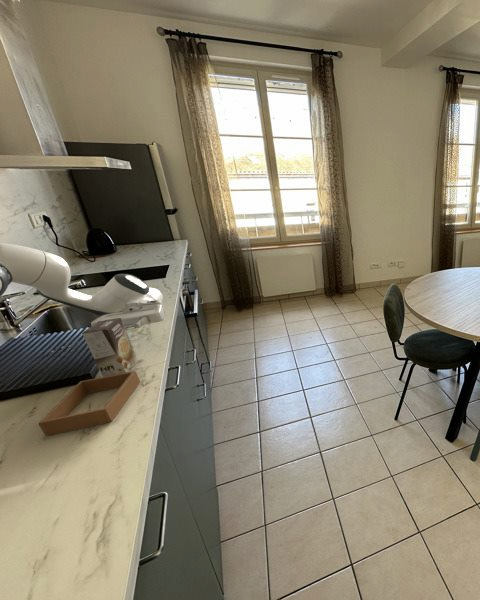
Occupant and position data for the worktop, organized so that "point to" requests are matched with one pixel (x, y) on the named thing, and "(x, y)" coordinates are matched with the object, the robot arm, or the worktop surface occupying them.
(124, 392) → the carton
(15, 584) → the worktop surface
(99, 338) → the coffee box
